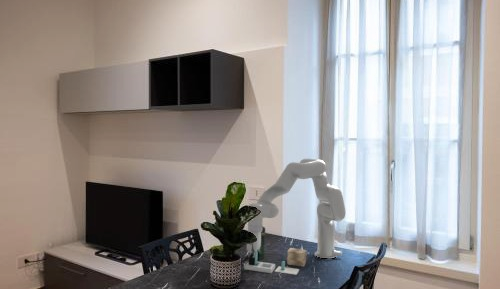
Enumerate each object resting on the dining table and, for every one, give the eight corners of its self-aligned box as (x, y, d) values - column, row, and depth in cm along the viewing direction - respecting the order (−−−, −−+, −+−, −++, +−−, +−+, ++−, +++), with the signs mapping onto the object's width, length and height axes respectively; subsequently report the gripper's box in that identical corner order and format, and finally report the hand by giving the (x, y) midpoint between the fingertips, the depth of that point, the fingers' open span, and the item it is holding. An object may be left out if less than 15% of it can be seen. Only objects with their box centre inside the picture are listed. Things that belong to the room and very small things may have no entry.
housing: (305, 263, 188) (306, 249, 188) (304, 267, 182) (304, 253, 182) (289, 261, 191) (290, 247, 191) (287, 265, 185) (287, 251, 185)
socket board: (275, 268, 179) (275, 264, 179) (271, 274, 172) (271, 269, 172) (249, 265, 184) (249, 260, 184) (244, 270, 176) (244, 265, 176)
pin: (257, 268, 180) (258, 250, 180) (255, 270, 176) (256, 252, 176) (251, 267, 181) (252, 249, 181) (249, 269, 177) (250, 251, 177)
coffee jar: (266, 260, 193) (267, 226, 193) (253, 261, 190) (254, 227, 190) (259, 254, 202) (260, 222, 202) (247, 255, 199) (248, 223, 199)
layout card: (299, 270, 178) (299, 261, 178) (296, 275, 171) (296, 266, 171) (278, 267, 182) (278, 258, 182) (274, 272, 174) (275, 263, 174)
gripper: (253, 223, 188) (252, 256, 188) (242, 230, 171) (241, 267, 171) (266, 225, 186) (265, 258, 186) (257, 232, 169) (255, 269, 169)
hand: (253, 262), depth 179 cm, fingers open, 7 cm apart
